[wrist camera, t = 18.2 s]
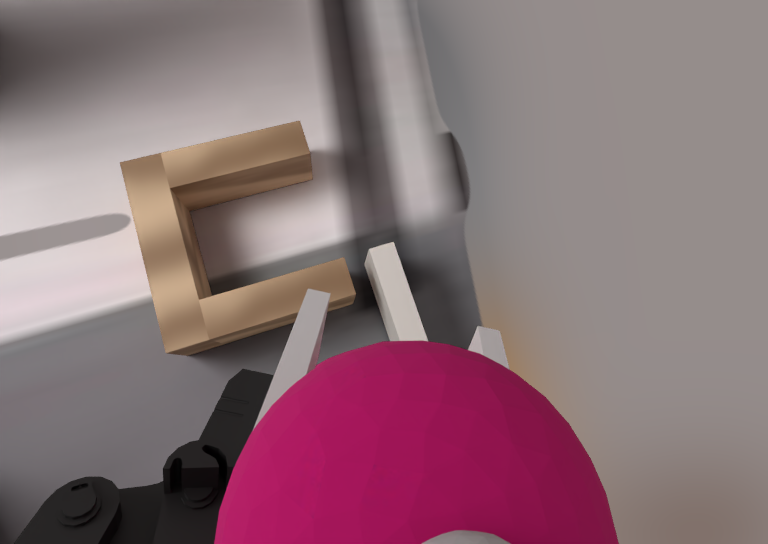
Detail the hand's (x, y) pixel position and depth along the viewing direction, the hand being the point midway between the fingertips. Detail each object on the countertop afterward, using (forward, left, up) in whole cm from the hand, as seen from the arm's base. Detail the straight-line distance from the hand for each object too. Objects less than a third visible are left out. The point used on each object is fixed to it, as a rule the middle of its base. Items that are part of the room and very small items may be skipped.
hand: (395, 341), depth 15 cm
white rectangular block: (-3, +4, -23) cm, 23 cm away
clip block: (-12, -5, -23) cm, 27 cm away
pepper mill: (+3, -2, -8) cm, 9 cm away
